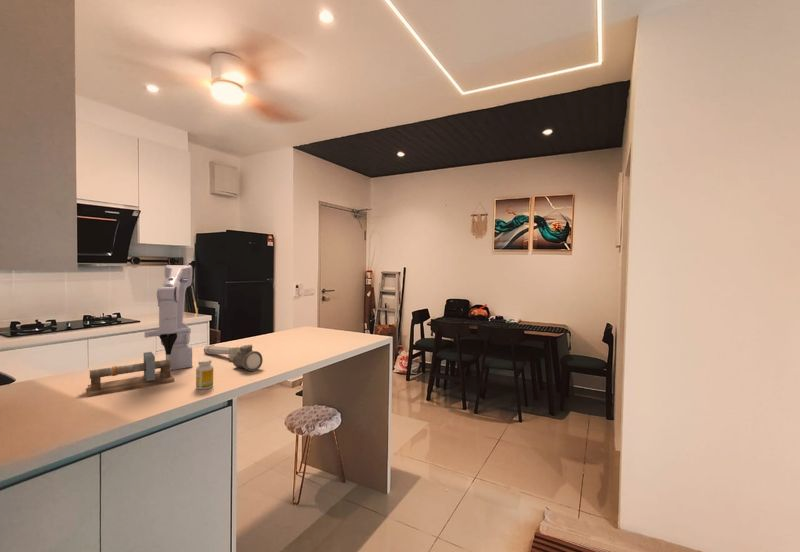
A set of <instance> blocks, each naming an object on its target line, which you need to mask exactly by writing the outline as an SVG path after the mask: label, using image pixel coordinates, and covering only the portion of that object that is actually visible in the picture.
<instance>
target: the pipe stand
mask: <svg viewBox="0 0 800 552" xmlns="http://www.w3.org/2000/svg"><path fill="white" fill-rule="evenodd" d="M170 366H171V362H170V359H169V360H166V359H163V360H155V370H158V369H160V372H159V373H155V380H152V381H146V379H145V377H144V375H143V376H141V375H140V376H137V377H135V376H134V377H130V378H124V379H123V378H122V379H116V380H112V381H111V380H110V381H104V382H101V381H102V380H101V378H104V377H115V376H118V375H126V374H133V373H138V372H144V371H146V363H144V362H143V363H134V364H125V365H119V366H116V365H115V366H110V367H106V368H100V369H99V368H98V369H92V370H89V380H90V384H87V397H95V396H100V395H105V394H111V393H115V392H116V393H117V392H122V391H123V392H124V391H128V390H134V389H140V388H145V387H146V388H147V387H150V386H151V387H153V386H156V385H157V386H158V385H163V384H167V383H174V382H175V378H174V376H172V374H171V370H170Z"/></svg>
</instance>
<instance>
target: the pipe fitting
mask: <svg viewBox="0 0 800 552" xmlns="http://www.w3.org/2000/svg"><path fill="white" fill-rule="evenodd" d="M238 347H239V349H240V351H238V352H237V354H236V355H235V356H234V358H233V361H232V364H233V366H234V367H236V368H241V369H242V368H243V369H245V370H246V371H248V372H257V371H258V370H259V369H260V368H261V367H262V364H263V356H262V354H261V353H260V352H259V351H257V350H256V351H255V350H253V345H252V344H246V345H242V346H238Z"/></svg>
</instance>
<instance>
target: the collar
mask: <svg viewBox="0 0 800 552" xmlns="http://www.w3.org/2000/svg"><path fill="white" fill-rule="evenodd" d="M155 361H156V356H155V354H154V353H153V352H152V351H148V352H147V351H146V352H143V363H146V371H143V376H144V377H145V379H146V381H152V380H155V374H156V369H155Z"/></svg>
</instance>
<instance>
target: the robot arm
mask: <svg viewBox="0 0 800 552" xmlns="http://www.w3.org/2000/svg"><path fill="white" fill-rule="evenodd" d="M164 278H165V280H164V281H163V284H162V285H161V286H160V287H158V288H157V289H156V299H157V306H158V329H156V330H155V329H154V330H147V331H144V338H152V337H158V338H159V339H160V344H161V346H162V347H163V348H164V351H165V360H169V359H170V362H171V366H170V371H173V370H180V369H187V368H192V367H193V347H192V345H191V344H190V341H191V336H190V335H191V330H192V329H191V327H190V326H189V325H187V324H186V323H184V312H185V300H186V299H185V297H186V290H187V288H189V287H190V286H192V283H193V267H192V265H191V264H189V265H179V264H178V265H177V264H176V265H174V264H173V265H171V264H166V265H165V266H164Z"/></svg>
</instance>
